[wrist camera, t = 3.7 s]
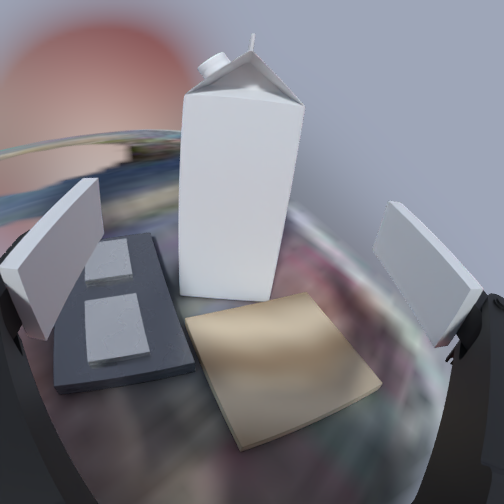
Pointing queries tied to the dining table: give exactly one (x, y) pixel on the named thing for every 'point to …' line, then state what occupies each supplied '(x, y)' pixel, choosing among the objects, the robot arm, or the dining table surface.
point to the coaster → (277, 367)
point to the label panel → (119, 322)
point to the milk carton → (235, 177)
